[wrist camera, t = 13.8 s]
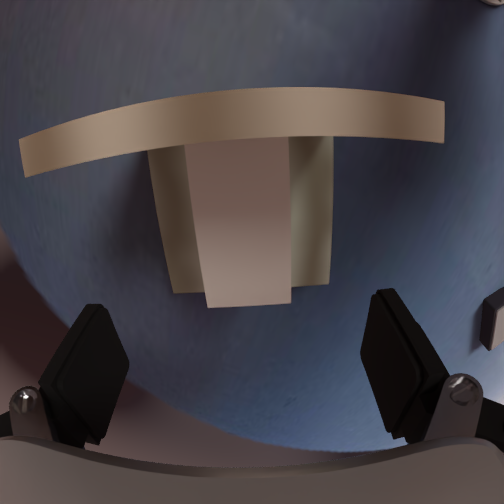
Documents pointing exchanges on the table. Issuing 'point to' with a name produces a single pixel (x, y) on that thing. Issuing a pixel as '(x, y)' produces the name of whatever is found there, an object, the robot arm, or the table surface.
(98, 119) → the beige zigzag bookend
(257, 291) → the pale taupe block
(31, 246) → the table surface
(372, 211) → the table surface
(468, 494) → the robot arm
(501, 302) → the small patterned box
